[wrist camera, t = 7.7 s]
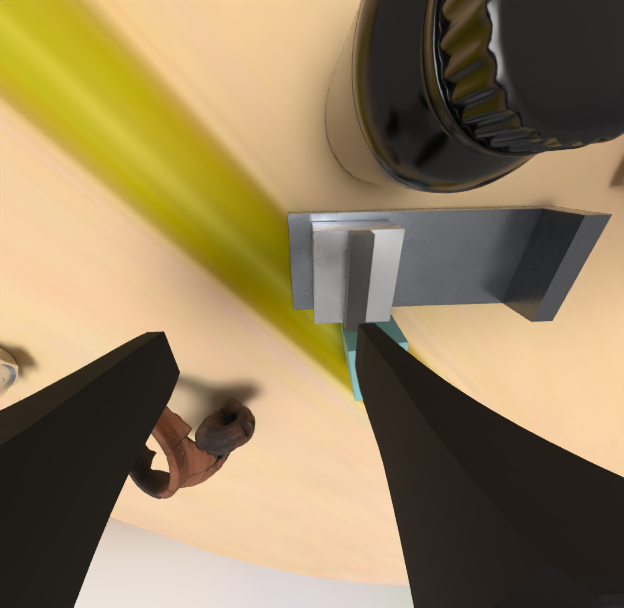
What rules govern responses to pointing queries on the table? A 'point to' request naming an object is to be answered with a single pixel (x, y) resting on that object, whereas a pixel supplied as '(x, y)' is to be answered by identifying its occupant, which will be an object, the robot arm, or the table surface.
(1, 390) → the screw
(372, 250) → the grey stepped block
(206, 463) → the brown looped part
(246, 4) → the table surface
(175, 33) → the table surface
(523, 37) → the supplement bottle
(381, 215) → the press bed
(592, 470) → the robot arm
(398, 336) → the teal block
